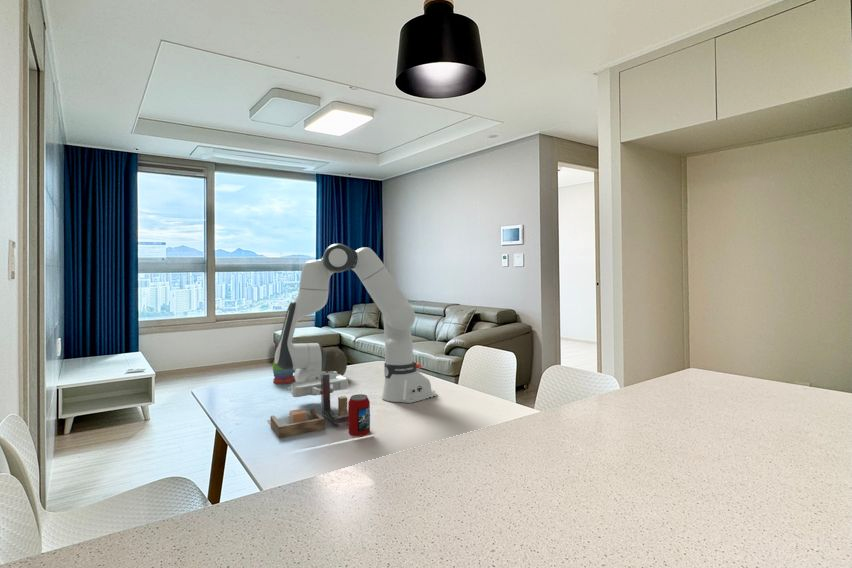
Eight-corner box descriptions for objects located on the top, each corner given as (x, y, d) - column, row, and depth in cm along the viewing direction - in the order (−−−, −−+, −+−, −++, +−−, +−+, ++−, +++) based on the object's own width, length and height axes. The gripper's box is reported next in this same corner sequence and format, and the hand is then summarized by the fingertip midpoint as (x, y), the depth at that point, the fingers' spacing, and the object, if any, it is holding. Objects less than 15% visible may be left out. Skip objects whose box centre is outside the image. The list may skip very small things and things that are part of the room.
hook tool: (344, 409, 166) (342, 370, 165) (357, 419, 155) (356, 378, 154) (321, 413, 162) (320, 373, 161) (334, 424, 151) (332, 382, 150)
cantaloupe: (332, 374, 226) (332, 343, 225) (353, 378, 218) (353, 346, 217) (309, 380, 215) (309, 348, 214) (331, 385, 206) (330, 351, 206)
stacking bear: (299, 379, 217) (298, 341, 217) (291, 384, 207) (290, 345, 207) (277, 378, 219) (276, 341, 218) (268, 384, 208) (267, 345, 208)
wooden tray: (308, 415, 166) (308, 403, 166) (324, 431, 150) (324, 418, 149) (266, 422, 159) (266, 410, 158) (279, 440, 142) (278, 427, 142)
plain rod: (345, 418, 162) (344, 395, 162) (347, 420, 160) (347, 397, 159) (338, 419, 161) (338, 397, 160) (340, 421, 159) (340, 398, 158)
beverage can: (366, 438, 143) (365, 400, 143) (345, 437, 145) (344, 399, 144) (372, 430, 150) (372, 394, 149) (353, 429, 151) (352, 393, 151)
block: (303, 421, 157) (303, 408, 157) (307, 425, 153) (306, 412, 153) (289, 424, 155) (289, 410, 155) (293, 428, 151) (293, 414, 151)
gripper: (285, 378, 167) (295, 387, 155) (340, 370, 177) (353, 378, 165) (286, 395, 167) (296, 405, 155) (340, 386, 178) (353, 395, 166)
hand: (326, 391), depth 160 cm, fingers closed on hook tool, 2 cm apart
